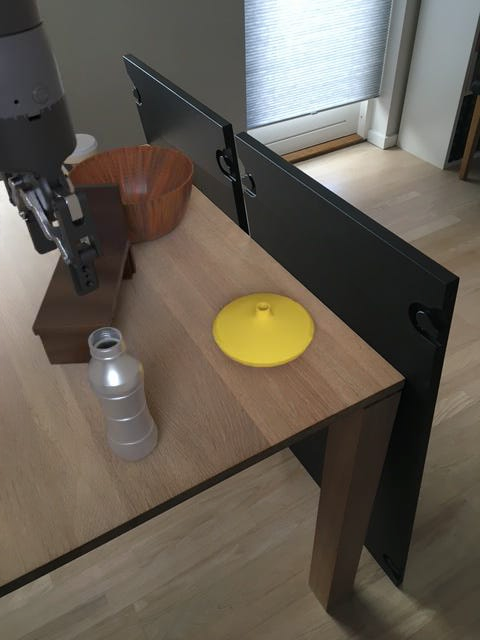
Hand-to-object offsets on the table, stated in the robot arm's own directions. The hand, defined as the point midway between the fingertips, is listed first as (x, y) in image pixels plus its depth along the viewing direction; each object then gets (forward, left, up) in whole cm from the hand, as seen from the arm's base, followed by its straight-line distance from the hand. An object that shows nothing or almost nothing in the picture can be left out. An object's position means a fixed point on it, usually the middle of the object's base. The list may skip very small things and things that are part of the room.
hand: (67, 269), depth 51 cm
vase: (+28, +4, -30) cm, 41 cm away
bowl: (+32, +48, -30) cm, 65 cm away
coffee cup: (+30, +68, -30) cm, 80 cm away
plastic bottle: (+2, 0, -30) cm, 30 cm away
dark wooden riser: (+11, +28, -30) cm, 42 cm away
